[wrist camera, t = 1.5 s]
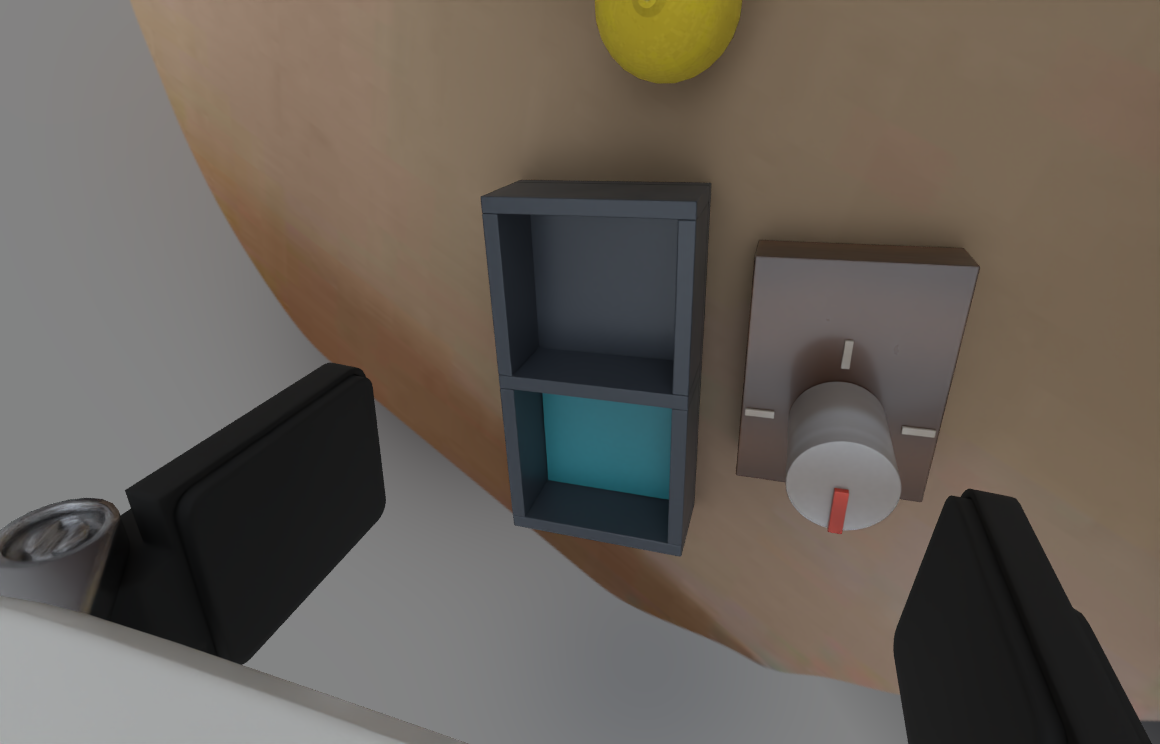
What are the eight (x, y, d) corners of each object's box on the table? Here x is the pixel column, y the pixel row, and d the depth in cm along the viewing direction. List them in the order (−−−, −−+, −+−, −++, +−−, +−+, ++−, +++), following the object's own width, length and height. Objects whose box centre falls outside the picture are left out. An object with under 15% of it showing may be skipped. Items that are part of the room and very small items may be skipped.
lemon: (705, 103, 29) (674, 116, 22) (603, 42, 29) (543, 37, 22) (776, -23, 26) (766, -53, 19) (663, -89, 26) (614, -142, 20)
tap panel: (759, 239, 31) (754, 256, 28) (965, 248, 28) (981, 267, 26) (740, 450, 36) (734, 481, 34) (912, 473, 34) (921, 509, 31)
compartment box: (519, 179, 33) (480, 196, 29) (711, 182, 30) (697, 201, 26) (542, 480, 42) (513, 525, 38) (694, 505, 39) (681, 557, 35)
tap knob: (793, 376, 30) (791, 438, 25) (893, 386, 29) (912, 453, 24) (784, 453, 32) (780, 525, 27) (877, 466, 31) (891, 543, 26)
